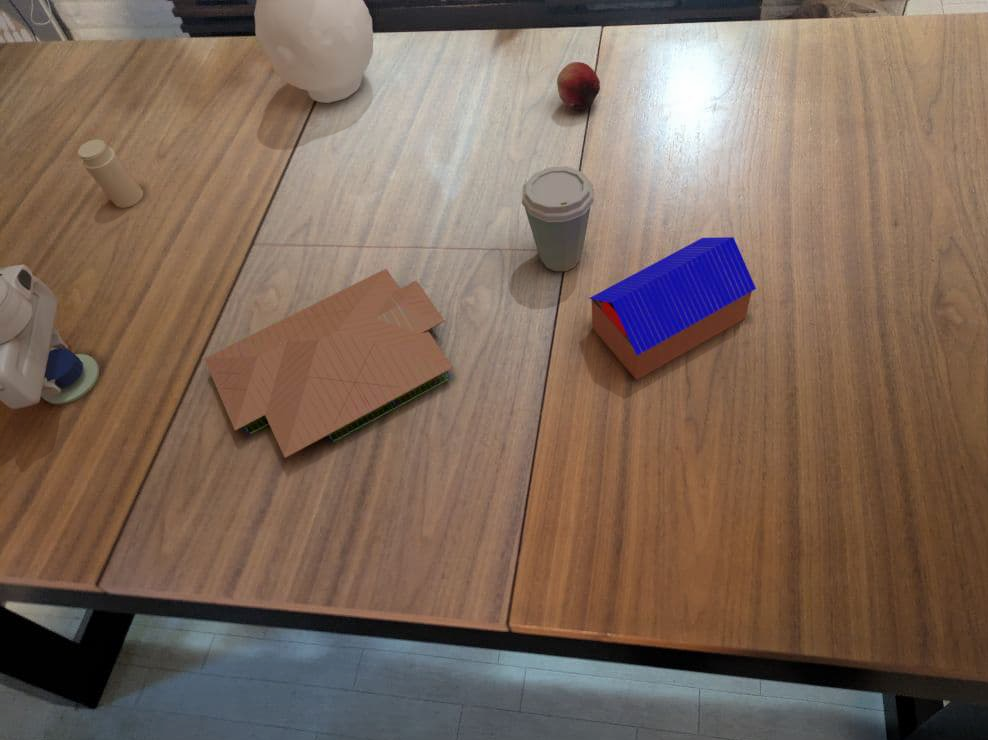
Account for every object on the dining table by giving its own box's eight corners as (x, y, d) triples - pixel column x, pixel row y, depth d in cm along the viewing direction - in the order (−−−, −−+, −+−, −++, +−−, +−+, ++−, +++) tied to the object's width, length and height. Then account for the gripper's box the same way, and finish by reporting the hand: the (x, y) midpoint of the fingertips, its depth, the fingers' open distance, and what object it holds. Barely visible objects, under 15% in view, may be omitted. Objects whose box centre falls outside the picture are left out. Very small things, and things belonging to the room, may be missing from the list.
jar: (113, 211, 129) (74, 162, 120) (113, 191, 132) (75, 142, 123) (143, 202, 130) (107, 153, 120) (143, 183, 133) (107, 133, 123)
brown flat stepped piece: (473, 371, 103) (463, 337, 96) (263, 485, 96) (236, 458, 90) (407, 274, 114) (393, 238, 107) (214, 370, 108) (187, 338, 101)
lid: (91, 363, 108) (82, 354, 106) (64, 394, 105) (54, 386, 103) (62, 353, 110) (53, 344, 108) (34, 383, 107) (24, 375, 105)
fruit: (585, 87, 135) (583, 48, 129) (608, 107, 132) (607, 68, 125) (551, 104, 134) (547, 64, 127) (573, 124, 130) (571, 85, 123)
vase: (361, 125, 136) (302, -40, 110) (268, 109, 141) (191, -51, 116) (403, 67, 144) (357, -98, 119) (313, 54, 150) (251, -106, 124)
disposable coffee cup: (524, 240, 116) (513, 167, 103) (587, 227, 116) (584, 151, 103) (537, 288, 110) (527, 217, 98) (604, 273, 111) (602, 200, 98)
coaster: (39, 411, 107) (36, 409, 106) (43, 366, 111) (40, 364, 111) (98, 394, 107) (96, 391, 107) (100, 349, 112) (97, 347, 111)
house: (748, 318, 104) (762, 263, 94) (635, 382, 100) (638, 332, 90) (697, 268, 109) (706, 212, 100) (589, 327, 105) (586, 274, 95)
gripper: (0, 369, 90) (71, 423, 102) (27, 256, 101) (88, 316, 113) (-49, 381, 90) (28, 433, 102) (-17, 265, 101) (49, 325, 112)
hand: (60, 371), depth 107 cm, fingers closed on lid, 6 cm apart
